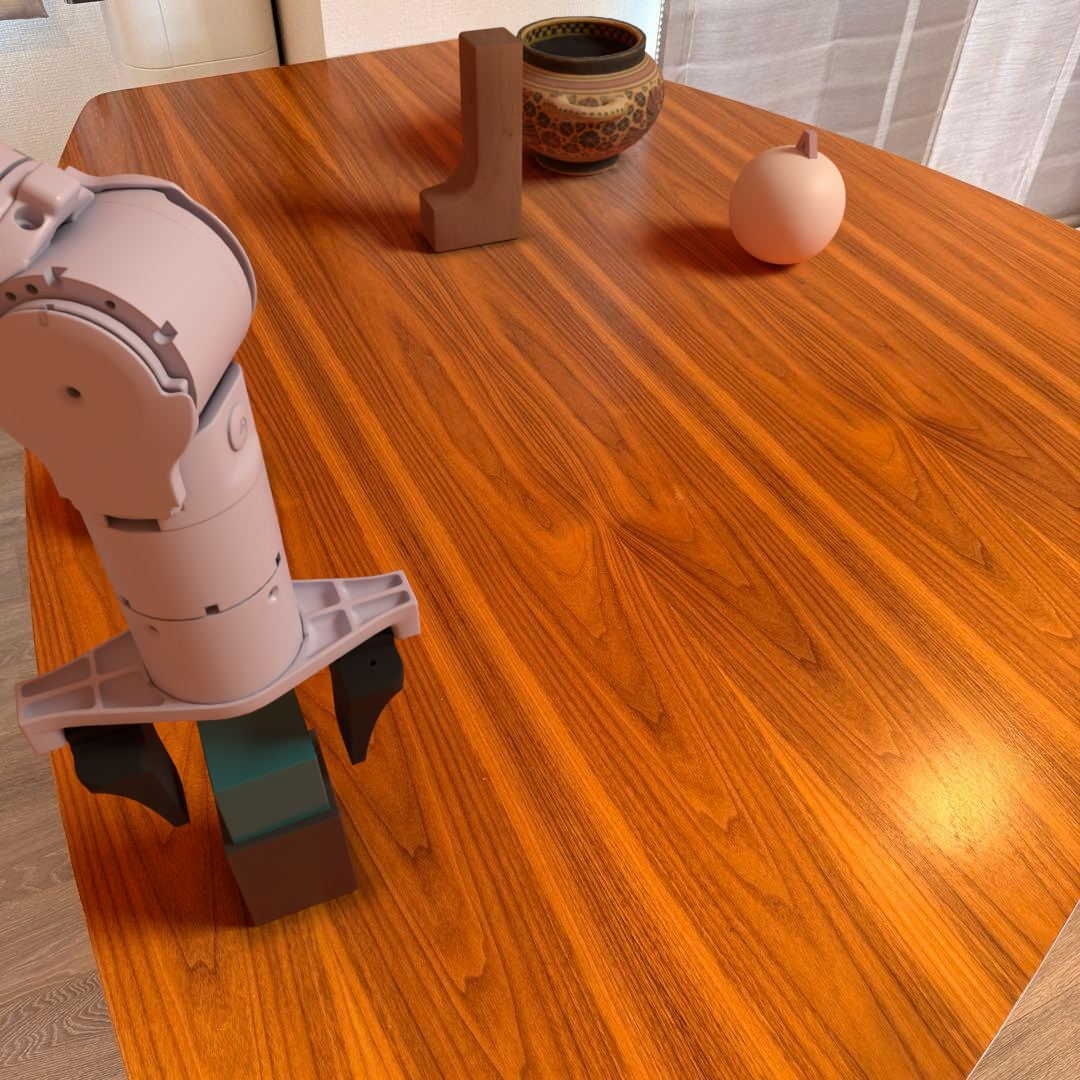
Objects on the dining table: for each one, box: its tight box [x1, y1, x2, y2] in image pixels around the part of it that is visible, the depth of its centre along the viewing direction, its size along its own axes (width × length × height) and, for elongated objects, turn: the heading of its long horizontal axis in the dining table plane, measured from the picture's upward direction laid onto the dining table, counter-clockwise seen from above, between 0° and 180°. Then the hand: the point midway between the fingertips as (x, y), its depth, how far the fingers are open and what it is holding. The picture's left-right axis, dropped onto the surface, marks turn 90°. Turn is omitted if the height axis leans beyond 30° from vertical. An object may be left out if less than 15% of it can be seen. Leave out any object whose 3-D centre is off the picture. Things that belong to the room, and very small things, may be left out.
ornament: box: [728, 128, 847, 265], centre depth 89 cm, size 10×10×12 cm
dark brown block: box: [212, 727, 359, 927], centre depth 46 cm, size 5×5×7 cm
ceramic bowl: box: [515, 15, 666, 177], centre depth 104 cm, size 24×18×15 cm
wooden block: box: [418, 26, 523, 253], centre depth 89 cm, size 9×4×18 cm, turn 113°
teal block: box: [195, 687, 330, 844], centre depth 42 cm, size 4×4×4 cm
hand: (268, 775), depth 43 cm, fingers open, 7 cm apart
